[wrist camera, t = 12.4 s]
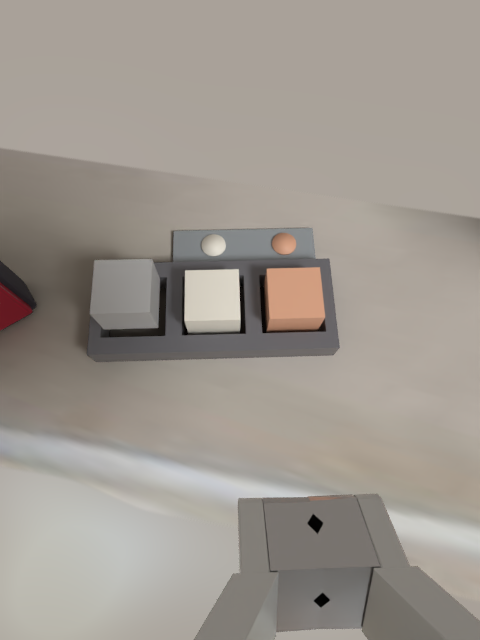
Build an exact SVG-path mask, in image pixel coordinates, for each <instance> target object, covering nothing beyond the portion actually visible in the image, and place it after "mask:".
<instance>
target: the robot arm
mask: <svg viewBox="0 0 480 640" xmlns="http://www.w3.org/2000/svg"><path fill="white" fill-rule="evenodd" d="M238 531H239V572H240V573H237V574H233V575H232V576H231V578H230V580H229V581H228V583H227V585H226V586H225V588H224V590H223V591H222V593H221V595H220V597H219V598H218V600H217V602H216V603H215V605H214V607H213V608H212V610H211V612H210V613H209V615H208V617H207V618H206V620H205V622H204V624H203V625H202V627H201V629H200V630H199V632H198V634H197V635H196V637H195V639H194V640H274V639H275V637H276V632H285V631H298V630H311V629H352V628H353V629H355V628H356V629H359V628H362V632H363V633H364V635H365V636H366V637H367V639H368V640H480V621H479V620H478V619H477V618H476V617H475V616H473V614H471V613H470V612H469V611H468V610H467V609H466V608H465V607H463V606H462V605H461V604H460V603H459V602H458V601H457V600H455V599H454V598H453V597H452V596H451V595H450V594H449V593H448V592H446V591H445V590H444V589H443V588H442V587H441V586H440V585H438V584H437V583H436V582H435V581H434V580H433V579H432V578H430V577H429V576H428V575H427V574H426V573H425V572H424V571H423V570H421V569H420V568H419V567H418V566H410V565H409V562H408V560H407V558H406V555H405V553H404V550H403V548H402V546H401V543H400V541H399V539H398V536H397V534H396V531H395V529H394V527H393V524H392V522H391V520H390V517H389V515H388V513H387V510H386V508H385V505H384V503H383V501H382V498H381V497H380V496H379V495H378V494H359V495H352V494H350V495H330V496H310V497H294V498H239V499H238Z"/></svg>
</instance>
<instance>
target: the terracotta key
mask: <svg viewBox="0 0 480 640" xmlns="http://www.w3.org/2000/svg"><path fill="white" fill-rule="evenodd" d="M264 300H265V317H266V333H286V332H317V330H318V329H319V327H320V325H321V324H322V322H323V320H324V319H325V310H324V301H323V291H322V282H321V273H320V267H312V268H270V269H267V270H266V276H265V282H264Z"/></svg>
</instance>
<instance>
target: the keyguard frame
mask: <svg viewBox="0 0 480 640" xmlns="http://www.w3.org/2000/svg"><path fill="white" fill-rule="evenodd" d="M154 265H155V268H156V270H157V273H158V275H159V278H160V289H161V288H167V293H166V328H165V336H143V337H109V330H110V329H103V328H102V327H101V326H100V325H99V324H98V322H97V321H96V320H95V319H94V318H93V317H92V316H91V315H90V326H89V337H88V348H87V355H88V356H89V357H90V358H92V359H93V360H94V361H95V362H111V361H146V360H182V359H217V358H253V357H289V356H324V355H334V354H335V353H336V351H337V350H338V349H339V348H340V347H339V339H338V330H337V321H336V313H335V304H334V295H333V287H332V278H331V269H330V261H329V259H291V260H248V261H204V262H160V263H154ZM312 267H320V273H321V282H322V291H323V301H324V310H325V319H324V320H323V322H322V324H321V325H320V327H319V328H320V332H292V333H262V320H261V301H260V286H264V282H265V276H266V270H267V269H270V268H312ZM225 269H239V287H243V292H244V318H245V334H217V335H185V321H184V314H185V270H225Z"/></svg>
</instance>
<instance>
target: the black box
mask: <svg viewBox="0 0 480 640" xmlns="http://www.w3.org/2000/svg"><path fill="white" fill-rule="evenodd" d="M35 307H36V302H35V301H34V299H33V297H32V295H31V293H30V292H29V290H28V288H27V286H26V284H25V283H24V282H23V281H22V280H21V279H20V278H19V277H18V276H17V275H16V274H15V273H13V272H12V271H11V270H10V269H9V268H8V267H7V266H6V265H4V264H3V263H2V262H1V261H0V331H1V330H2V329H4V328H6V327H8V326H9V325H11V324H13V323H15V322H16V321H18V320H20V319H22V318H24V317H25V316H27V315H29V314H31V313H32V312H33V311H32V309H34V308H35Z"/></svg>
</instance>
